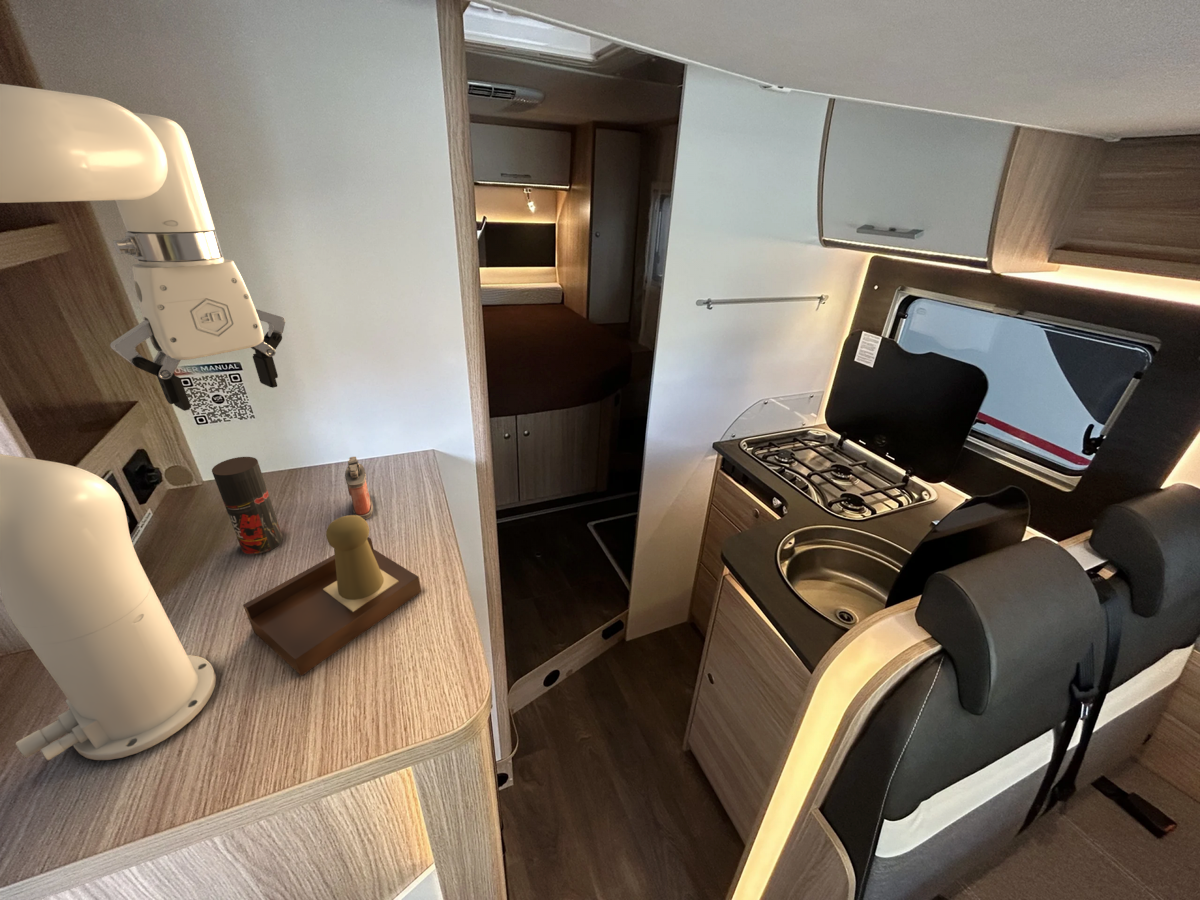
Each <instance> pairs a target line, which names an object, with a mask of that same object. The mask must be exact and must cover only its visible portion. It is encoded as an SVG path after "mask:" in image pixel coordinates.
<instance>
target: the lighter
mask: <svg viewBox="0 0 1200 900" xmlns="http://www.w3.org/2000/svg"><path fill="white" fill-rule="evenodd" d="M366 473H367V472H366V469H365V467H364V465H363V464H362V463H360V462H359V460H358V458H357V456H350V457H349V458H348V460H347V466H346V469H345V473H344V478H345V483H346V486H347V490H348V494H349V496H350V499H351V502H352V504H351V506H352V511H353V515H357V516H360V517H362V518H363V519H364V520H367V519H369V518H371V517H372V515H373V511H374V505H373V500H372V498H371V495H370V493H369V487H368V484H367V474H366Z"/></svg>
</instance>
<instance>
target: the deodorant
mask: <svg viewBox="0 0 1200 900" xmlns="http://www.w3.org/2000/svg"><path fill="white" fill-rule="evenodd" d="M211 473H212V475H213V478H214V481H215V484H216V486H217V489H218V491H219V494H220V497H221V499H222V502H223V504H224V507H225V510H226V512H227V515H228V517H229V520H230V523H231V525H232V528H233V530H234V534H235V536H236V538H237V539H236V540H237V541H238V543H239V546H240V549H241V552H242V553H243V554H247V555H261V554H264V553H267V552H270V551H272V550H274V549H275V548H277V547H278V546H280V545H281V544H282V542H283V540H284V537H283V533H282V530H281V527H280V524H279V522H278V521H279V520H278V518H277V515H276V512H275V509H274V505H273V503H272V500H271V497H270V494H269V490H268V488H267V485H266V481H265V479H264V476H263V473H262V470H261V467H260V464H259V460H258V459H257V458H256V457H253V456H238V457H237V456H236V457H233V458H229V459H226V460H223V461H221V462H219V463H217V464H216V465H214V466H213V467H212V469H211Z"/></svg>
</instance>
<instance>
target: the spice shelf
mask: <svg viewBox="0 0 1200 900" xmlns="http://www.w3.org/2000/svg"><path fill="white" fill-rule="evenodd" d="M367 540H368V542H369V545H370V547H371V550H372V552H373V554H374V557H375V559H376V561H377V564H378V566H379V568H380V571H381V573H382V576H383V578H384V581H383V584H382V586H381V588H380V589H379V590H378V591H376V592H375V593H374V594H372V595H370V596H368V597H365V598H362V599H357V600H348V599H345V598H342V597H341V596H340V595H339V593H338V586H337V575H336V564H335V554H333V555H331V556H329V557H327V558H326V559H324V560H322V561H320V562H318V563H316V564H314V565H313V566H311V567H309V568H307V569H305V570H303V571H302V572H300V573H298V574H296V575H294V576H293V577H291V578H289V579H287V580H285V581H284V582H282V583H280V584H278V585H276V586H274V587H272V588H271V589H268V590H267V591H266V592H264V593H262V594H260V595H258V596H256V597H254V598H253V599H251V600H249V601H247V602H245V603H244V604H243V605H242V606H243V609H244V610H245V613H246V616H247V619H248V621H249V623H250V626H251V628H252V630H253V633H254V634H255V635H256V636H257V637H258V638H260V639H261V640H262V641H263V642H264V643H265V644H266V645H268V647H270V648H271V650H273V651H274V652H275V653H276V654H277V655H278V656H279V657H280V658H281V659H283V661H285V662H286V663H287V664H288V665H289V666H290V667H291V668H292V669H293V670H294V671H295V672H296V673H297V674H299V676H301V677H303V675H305V674H306V673H308V672H310V671H311V670H312V669H314V668H315V667H316V666H318V665H319V664H320V663H322V662H323V661H325V660H327V659H328V658H329V657H331V656H332V655H334V654H335V653H336V652H338V651H339V650H340V649H342V648H343V647H345V646H346V645H348V644H349V643H351V642H352V641H353V640H355V639H356V638H358V637H360V635H362V634H363V633H365V632H366V631H368V630H369V629H371V628H372V627H374V626H375V625H376V624H378V623H379V622H381V621H382V620H383V619H385V618H386V617H388V616H389V615H391V614H392V613H393V612H394V611H396V610H397V609H399V608H400V607H402V606H404V604H406V603H408V602H409V601H410V600H412V599H413V598H415V597H416V596H418V595H419V594H420V593H422V588H421V582H420V578H419V576H418V575H417V574H415V573H413V572H412V571H410V570H409V569H407V568H405V567H404V566H402V565H400V564H399V563H397V562H396V561H394V560H393V559H391V558H389V557H387V556H386V555H384V554H382V553H381V552H380V551H378V550H376V549H374V546H373V541H372V538H371V537H369V536H368V538H367Z"/></svg>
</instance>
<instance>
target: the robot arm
mask: <svg viewBox="0 0 1200 900" xmlns="http://www.w3.org/2000/svg"><path fill="white" fill-rule="evenodd" d="M190 145H191V144H190V142H189V139H188V136H187V134H186V132H185V130H184V129H183V127H181V125H180V124H178V123H177V122H176V121H175V120H172V119H171V118H168V117H165V116H160V115H155V114H150V113H140V112H132V111H131V110H129V109H127V108H126V107H123V106H122V105H120V104H118V103H115V102H113V101H111V100H109V99H106V98H103V97H98V96H93V95H86V94H81V93H72V92H66V91H65V92H64V91H60V90H59V91H57V90H50V89H43V88H35V87H29V86H22V85H13V84H7V83H6V84H5V83H0V204H4V203H5V204H6V203H7V204H8V203H9V204H11V203H13V204H14V203H57V202H99V201H103V202H104V201H115V203H116V206H117V209H118V212H119V215H120V218H121V220H122V223H123V225H124V228H125V230H126V231H125V232H124V234H125V237H124V238H123V237H122V238H121V239H113V240H112V244H113V247H114V249H115V251H116V252H117V254H118V255H128V256H132V257H134V259H136V260H137V262H138V263H134V264H132V266H131V267H132V275H133V283H134V288H135V293H136V297H137V301H138V305H139V309H140V313H141V316H142V319H143V321H141V322H140V323H139V324H137V325H135V326H134V327H132V328H131V329H129V330H128V331H126V332H125V333H124V334H122V335H120V336H119V337H117V338H116V339H115V340H113V341H111V342H110V344H109V346H110V348H111V349H112V350H113V351H114V352H115V353H117V354H118V355H119V356H120V357H122V358H123V359H124V360H125V361H127V362H128V363H129V364H130V365H132V366H134V367H136V368H137V369H140V370H142V371H144V372H146V373H148V374H151V375H153V376H155V377H156V378H157V380H158V382H159V385H160V387H161V390H162V392H163V395H164V398H165V400H166V401H167V403H168V404H169V405H174V406H175V407H177V408H179V409H180V410H181V411H185V412H186V411H189V410H190V409H192V405H191V402H190V399H189V398H188V397H189V396H188V395H187V392H186V390H185V387H184V385H183V381H182V379H181V378H180V376H177V375H176V374H175V372H176V369H177V368H178V366H179V364H180V362H181V361H187V360H194V359H195V360H196V359H199V358H205V357H206V358H207V357H211V356H215V355H221V354H225V353H231V352H235V351H241V350H246V349H252V350H253V351H254V353H252V354H253V355H252V360H253V363H254V366H255V370H256V373H257V376H258V379H259V382H260V384H262V385H264V386H267V387H269V388H273V389H274V388H277V387H278V382H277V379H278V378H279V376H278V375H279V374H278V371H277V368H276V364H275V361H274V356H275V355H276V352H277V351H276V349H277V348H278V347H279V345H280V344H281V342H282V340H283V333H284V329H285V325H286V318H285V317H283V316H280V315H276V314H273V313H270V312H267V311H263V310H260V309H258V308H256V306H255V303H254V302H253V299H252V297H251V293H250V292H249V289H248V287H247V286H246V283H245V281H244V278H243V277H242V275H241V273H240V271H239V269H238V267H237V265H236V263H235V261H234V260H233V259H228V258H225V257H224V254H223V251H222V248H221V244H220V241H219V237H218V235H217V230H216V228H215V224H214V221H213V217H212V215H211V211H210V207H209V204H208V201H207V198H206V195H205V191H204V188H203V184H202V181H201V177H200V175H199V171H198V168H197V165H196V162H195V158H194V155H193V152H192V148H191V146H190ZM261 322H264V323H267V325H268V331H267V332H266V333H265V335H264V331H263V327H262V323H261ZM148 339H149V340H150V342H151V345H152V346H153V348H154V350H156V351H157V353H156V354H155V357H154V358H153V360H150V359H147V358H146V357H144V356H142V355H141V354H140V353H139V352H138V351H137V347H138V346H139V345H140V344H142V343H144V342H145V341H147V340H148ZM127 517H128V516H127V512H126V508H125V505H124V502H123V501H122V498H121V496H120V494H119V492H118V491H117V490H116V489H115V488H114V487H113V486H112V485H111V484H110V483H108V481H106V480H105V479H104V478H101V477H100V476H99V475H97V474H95V473H92V472H91V471H88V470H86V469H84V468H80V467H77V466H74V465H70V464H66V463H62V462H56V461H50V460H44V459H38V458H32V457H25V456H16V455H9V454H4V453H3V454H2V453H0V595H1V600H2V603H3V606H4V608H5V611H6V613H7V615H8V616H9V618H10V620H11V622H12V623H13V625H14V626H15V628H16V629H17V631H18V632H19V633H20V634H21V637H23V639H24V640H25V641H26V643H27V644H28V645H29V647H30V648H31V649H32V651H33V652H34V654H35V655H36V657H37V658H38V659H39V661H40V662H41V663H42V665H43V666H44V668H45V669H46V670H47V672H48V673H49V675H50V676H51V678H52V679H53V680H54V682H55V683H56V684H57V686H58V687H59V689H60V690H61V691H62V693H63V694H64V696H65V698H66V700H65V704H66V705H67V707H68V709H67V710H65V711H64V712H61V713H60V714H58V715H57V720H55V721H53V722H51V723H49V724H48V725H45V726H44V727H42V728H41V729H40V728H39V729H37V730H35V731H34V732H31V733H30V734H28V735H27V736H24V737H23V738H21V739H19V740H17V741H15V746H16V747H17V749H18V751H19V752H20V754H21V756H23V757H24V758H25V759H28V758H29V757H31V756H33V755H35V754H36V753H38V752H39V751H41V753H42V755H43V757H44V758H45V759H46V760H47V761H50V760H52V759H53V758H56V757H57V756H59V755H60V754H62V753H63V752H65V751H66V750H68V749H69V748H70V747H73V748H74V749H75V750H76V752H77V753H78V754H79V755H81V756H83V757H84V758H86V759H89V760H94V761H111V760H117V759H123V758H126V757H129V756H132V755H135V754H139V753H141V752H143V751H145V750H148V749H150V748H152V747H154V746H157V745H158V744H159V743H161V742H164V741H166V740H167V739H168V738H170V737H171V736H173V735H174V734H176V733H177V732H179V731H180V730H181V729H183V728H184V727H185V726H187V724H189V723H190V722H191V721H192V720H193V719H194V718H195V717H196V716H197V715H199V713H200V712H201V711H202V710H203V708H205V706H206V704H207V703H208V702H209V701H210V698H211V697H212V695H213V693H214V690H215V688H216V684H217V676H216V671H215V669H214V668H213V666H212V665H213V664H212V663H210V662H209V661H208V660H207V658H204V657H201V656H200V655H199V656H198V655H194V654H187V652H186V650H185V648H184V646H183V644H182V643H181V640H180V639H179V636H178V634H177V632H176V631H175V629H174V627H173V625H172V623H171V621H170V618H169V617H168V615H167V613H166V611H165V609H164V607H163V605H162V602H161V601H160V599H159V597H158V596H157V594H156V591H155V590H154V587H153V585H152V583H151V582H150V579H149V578H148V576H147V574H146V571H145V570H144V567H143V566H142V564H141V562H140V559H139V557H138V555H137V552H136V550H135V548H134V544H133V541H132V538H131V534H130V533H131V532H130V528H129V524H128V518H127Z"/></svg>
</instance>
